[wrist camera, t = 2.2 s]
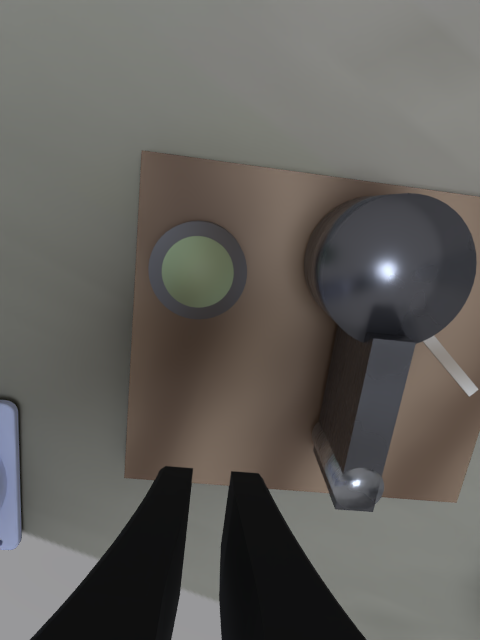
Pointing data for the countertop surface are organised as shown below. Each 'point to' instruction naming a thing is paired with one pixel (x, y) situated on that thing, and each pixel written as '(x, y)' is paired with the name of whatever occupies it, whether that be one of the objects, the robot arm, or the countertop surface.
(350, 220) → the knob
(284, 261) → the tribrach board
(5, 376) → the countertop surface
